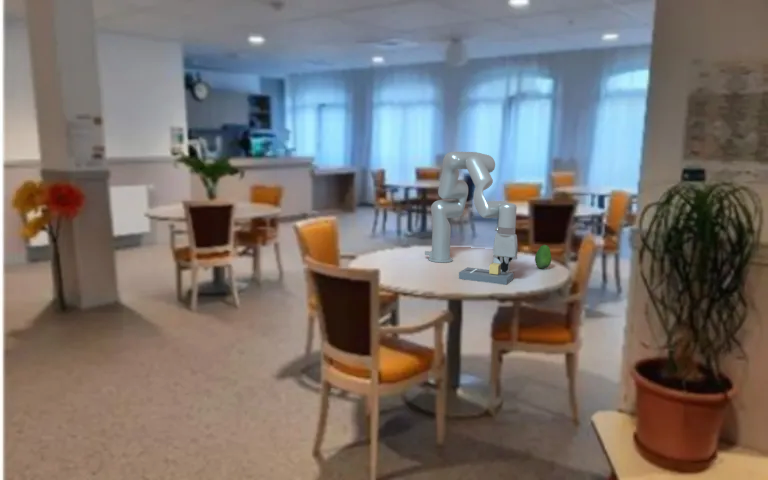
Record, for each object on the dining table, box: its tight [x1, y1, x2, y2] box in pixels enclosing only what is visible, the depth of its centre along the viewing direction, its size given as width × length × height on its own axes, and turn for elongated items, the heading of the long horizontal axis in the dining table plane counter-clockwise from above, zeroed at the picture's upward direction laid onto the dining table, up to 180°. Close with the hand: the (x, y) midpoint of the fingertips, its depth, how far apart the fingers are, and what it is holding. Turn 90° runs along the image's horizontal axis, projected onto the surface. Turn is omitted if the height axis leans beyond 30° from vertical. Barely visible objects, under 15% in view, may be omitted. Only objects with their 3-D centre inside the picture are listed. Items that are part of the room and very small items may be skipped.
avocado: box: [534, 244, 552, 270], centre depth 288 cm, size 8×8×12 cm
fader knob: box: [488, 262, 501, 274], centre depth 262 cm, size 4×5×4 cm
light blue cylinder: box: [492, 256, 511, 272], centre depth 283 cm, size 8×8×12 cm
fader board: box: [458, 267, 514, 286], centre depth 265 cm, size 22×12×3 cm, turn 63°
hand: (504, 271), depth 261 cm, fingers closed
